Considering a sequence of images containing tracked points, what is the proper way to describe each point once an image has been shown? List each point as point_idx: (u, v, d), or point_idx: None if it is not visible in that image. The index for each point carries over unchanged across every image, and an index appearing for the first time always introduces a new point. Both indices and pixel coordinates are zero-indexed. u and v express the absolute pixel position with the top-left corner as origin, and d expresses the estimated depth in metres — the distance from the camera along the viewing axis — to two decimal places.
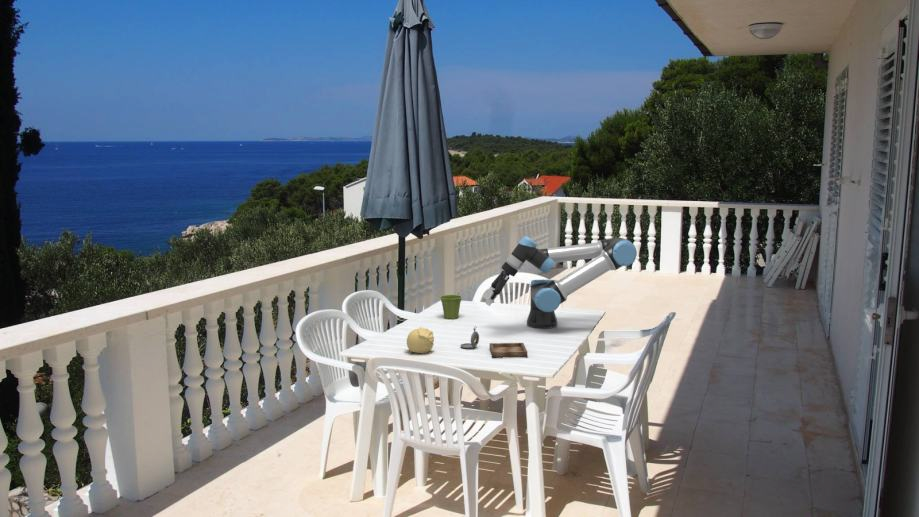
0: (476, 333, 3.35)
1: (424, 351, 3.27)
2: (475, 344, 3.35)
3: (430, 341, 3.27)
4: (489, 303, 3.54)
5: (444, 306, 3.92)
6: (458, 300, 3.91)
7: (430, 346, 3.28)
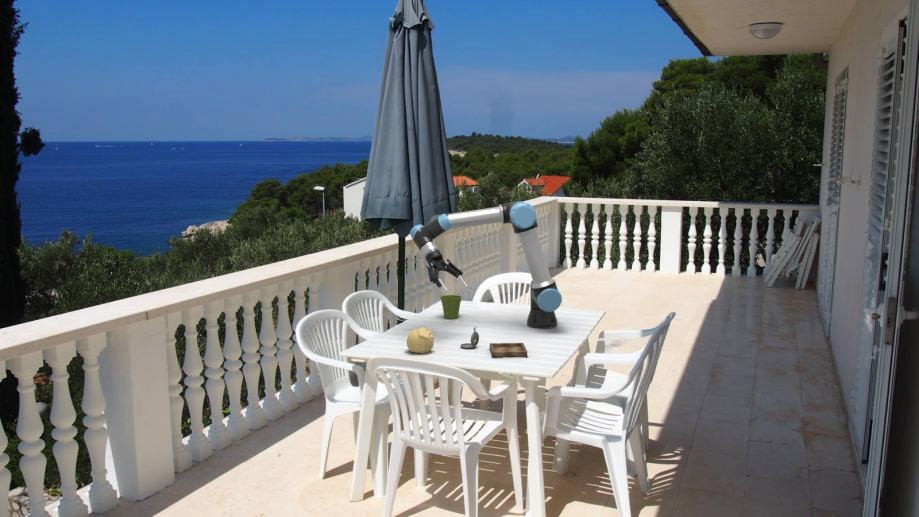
0: (476, 333, 3.35)
1: (424, 351, 3.27)
2: (475, 344, 3.35)
3: (430, 341, 3.27)
4: (444, 289, 3.36)
5: (444, 306, 3.92)
6: (458, 300, 3.91)
7: (430, 346, 3.28)
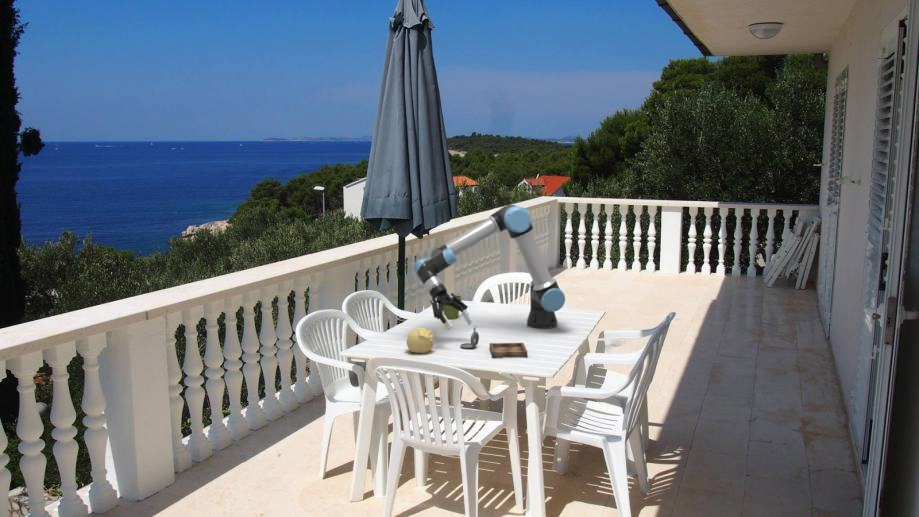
0: (476, 333, 3.35)
1: (424, 351, 3.27)
2: (475, 344, 3.35)
3: (430, 341, 3.27)
4: (448, 325, 3.33)
5: (444, 306, 3.92)
6: None
7: (430, 346, 3.28)
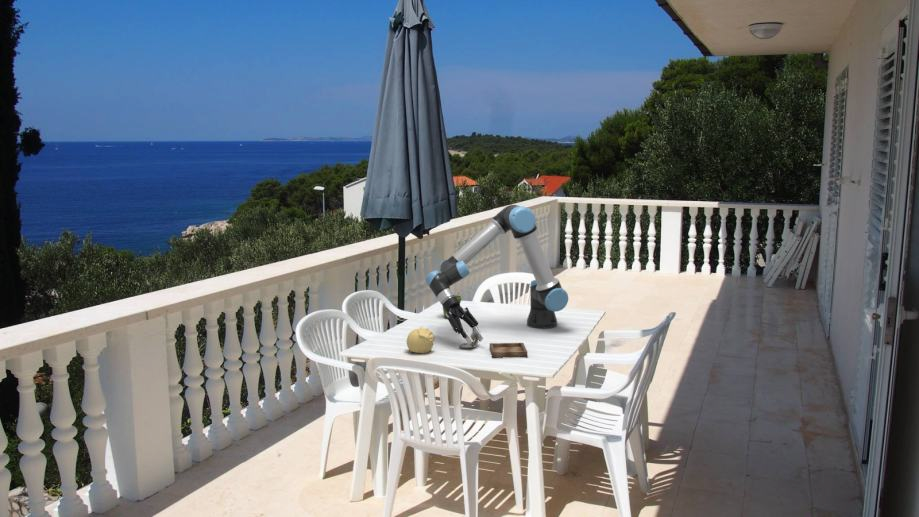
0: (475, 333, 3.35)
1: (424, 351, 3.27)
2: (474, 344, 3.35)
3: (430, 341, 3.27)
4: (469, 340, 3.31)
5: None
6: None
7: (430, 346, 3.28)
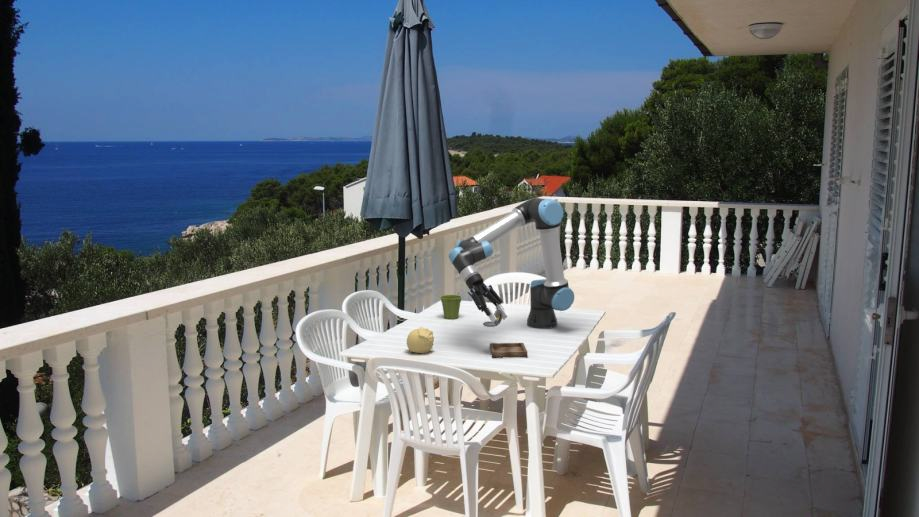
0: (499, 311, 3.26)
1: (424, 351, 3.27)
2: (498, 322, 3.26)
3: (430, 341, 3.27)
4: (493, 318, 3.22)
5: (444, 306, 3.92)
6: (458, 300, 3.91)
7: (430, 346, 3.28)
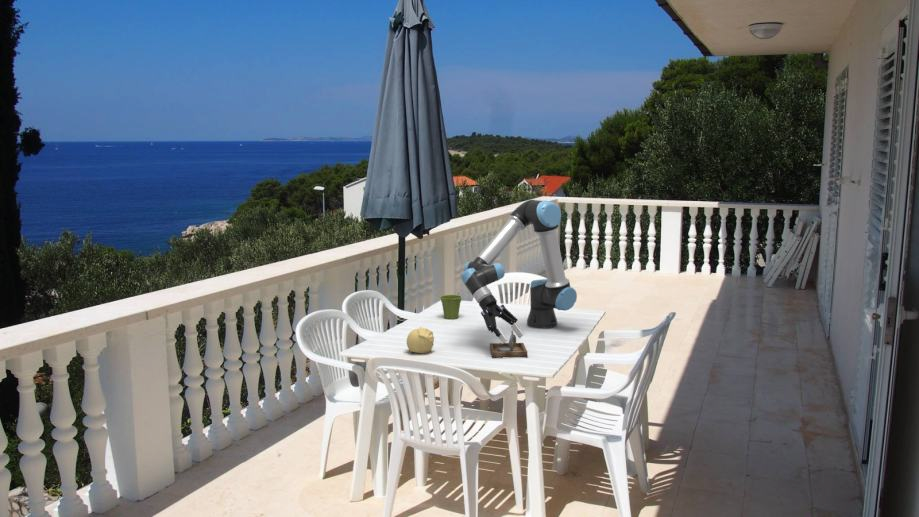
0: (514, 336, 3.25)
1: (424, 351, 3.27)
2: (513, 347, 3.25)
3: (430, 341, 3.27)
4: (503, 339, 3.20)
5: (444, 306, 3.92)
6: (458, 300, 3.91)
7: (430, 346, 3.28)
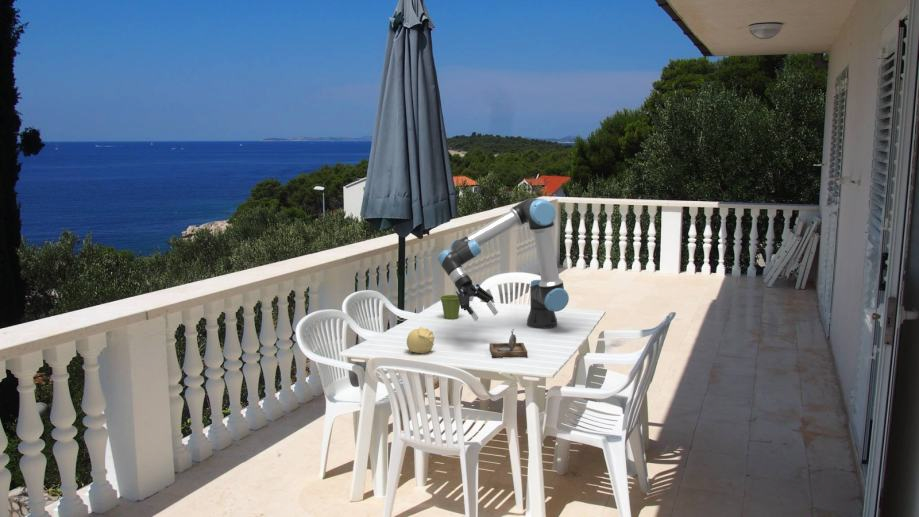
0: (514, 336, 3.25)
1: (424, 351, 3.27)
2: (513, 347, 3.25)
3: (430, 341, 3.27)
4: (476, 316, 3.30)
5: (444, 306, 3.92)
6: (458, 300, 3.91)
7: (430, 346, 3.28)
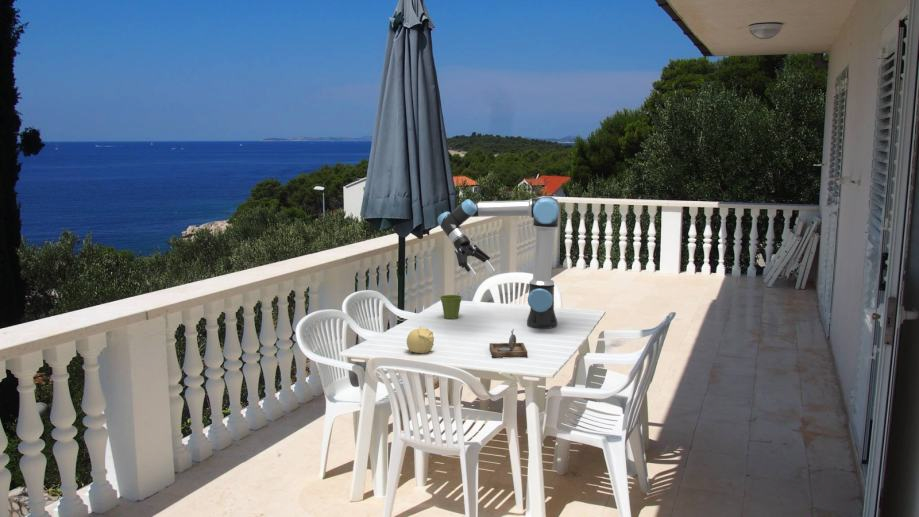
0: (514, 336, 3.25)
1: (424, 351, 3.27)
2: (513, 347, 3.25)
3: (430, 341, 3.27)
4: (473, 273, 3.48)
5: (444, 306, 3.92)
6: (458, 300, 3.91)
7: (430, 346, 3.28)
